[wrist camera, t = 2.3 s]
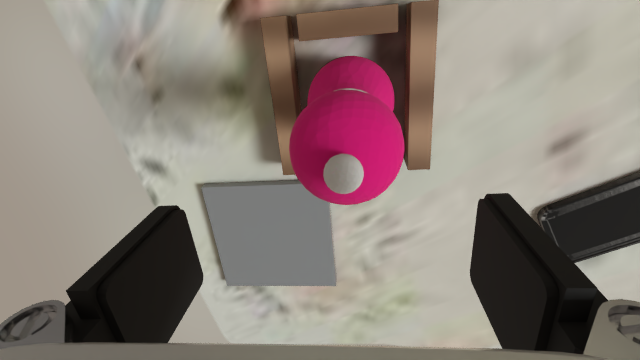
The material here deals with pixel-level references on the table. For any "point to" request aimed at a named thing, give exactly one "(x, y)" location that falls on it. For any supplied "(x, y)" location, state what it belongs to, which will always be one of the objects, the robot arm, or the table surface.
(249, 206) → the slate tile
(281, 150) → the collar
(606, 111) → the table surface
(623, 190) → the phone
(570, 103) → the table surface
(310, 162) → the pepper mill
